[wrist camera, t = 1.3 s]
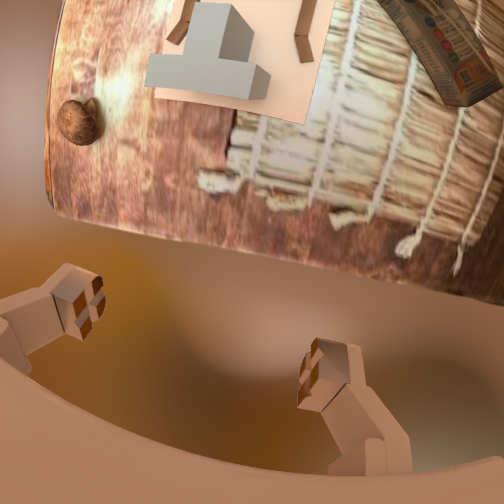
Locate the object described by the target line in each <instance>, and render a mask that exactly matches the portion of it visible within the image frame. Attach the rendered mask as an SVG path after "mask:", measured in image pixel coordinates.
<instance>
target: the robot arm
mask: <svg viewBox="0 0 504 504" xmlns="http://www.w3.org/2000/svg"><path fill="white" fill-rule="evenodd" d="M103 285H104V284H103V278H102V277H101V276H99V275H97V274H95V273H92V272H89V271H87V270H85V269H82V268H80V267H77V266H75V265H72V264H70V263H65V264H63V265H62V266H61V267H60V268H59V269H58V270H57V271H56V272H55V273H54V274H53V275H52V276H51V277H50V278H49V279H48V280H47V281H46V282H45V283H44V284H43V285H42V286H41V287H40V288H38V287H34V288H31V289H29V290H26V291H23V292H20V293H17V294H15V295H12V296H9V297H6V298H3V299H1V300H0V504H504V460H503V459H502V458H501V457H499V456H494V457H489V458H486V459H482V460H478V461H474V462H470V463H466V464H462V465H457V466H453V467H448V468H442V469H436V470H429V471H423V472H415V473H413V468H412V458H411V449H410V441H409V437H408V435H407V434H406V433H405V431H404V430H403V429H402V428H401V426H400V425H399V424H398V422H397V421H396V420H395V418H394V417H393V416H392V414H391V413H390V412H389V411H388V409H387V408H386V407H385V405H384V404H383V403H382V402H381V400H380V399H379V398H378V396H377V395H376V394H375V392H374V391H373V390H372V388H371V387H367V386H366V380H365V373H364V365H363V358H362V352H361V348H360V346H357V345H351V344H346V343H345V344H344V343H341V342H336V341H331V340H326V339H320V338H315V339H314V341H313V342H312V344H311V351H310V352H308V353H306V355H305V357H304V358H303V361H302V364H301V367H300V373H299V381H300V382H301V384H302V386H301V387H300V389H299V390H298V401H297V408H301V409H306V410H312V411H318V412H322V413H321V414H322V416H323V418H324V420H325V422H326V424H327V426H328V428H329V430H330V432H331V433H332V436H333V437H334V439H335V441H336V443H337V445H338V447H339V449H340V451H341V453H342V454H343V456H342V457H341V458H339V459H338V460H336V461H335V462H333V463H332V464H330V465H329V466H328V476H323V475H308V474H297V473H288V472H280V471H272V470H265V469H259V468H253V467H248V466H243V465H237V464H233V463H228V462H224V461H219V460H215V459H211V458H207V457H203V456H200V455H196V454H192V453H189V452H186V451H182V450H179V449H176V448H173V447H169V446H167V445H164V444H161V443H158V442H155V441H153V440H150V439H147V438H144V437H142V436H139V435H137V434H134V433H132V432H129V431H127V430H125V429H122V428H120V427H118V426H115V425H113V424H111V423H109V422H107V421H104V420H102V419H100V418H98V417H96V416H94V415H92V414H90V413H88V412H86V411H84V410H82V409H80V408H78V407H77V406H74V405H73V404H71V403H69V402H67V401H66V400H64V399H62V398H60V397H59V396H57V395H55V394H54V393H52V392H50V391H49V390H47V389H46V388H44V387H42V386H41V385H39V384H38V383H36V382H35V381H33V380H32V379H30V378H29V377H27V375H28V374H29V372H30V371H31V365H30V363H29V361H28V359H27V358H26V356H27V355H28V354H30V353H32V352H34V351H35V350H37V349H39V348H40V347H42V346H44V345H46V344H47V343H49V342H51V341H53V340H55V339H57V338H58V337H60V336H62V335H64V333H66V334H68V335H71V336H73V337H75V338H77V339H79V340H82V341H84V339H85V338H86V337H87V335H88V334H89V332H90V331H91V330H92V322H94V321H96V320H98V319H99V318H100V317H101V316H102V314H103V311H104V309H105V304H106V298H105V294H104V293H103V291H102V290H101V287H102V286H103Z"/></svg>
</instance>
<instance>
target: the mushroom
mask: <svg viewBox="0 0 504 504" xmlns="http://www.w3.org/2000/svg"><path fill="white" fill-rule="evenodd" d="M96 116H97V111H96V106H95V103H94V101H93V99H92V98H90V99H89V100H88V102H87V103H86V104H85V105H83V104H82V103H81V102H78V101H75V100H70V101H67V102H65V103H64V104H63V105H62V106H61V108H60V110H59V112H58V116H57V122H58V128H59V130H60V132H61V133H62V134H63V135H64V137H65V138H67V139H68V140H69V141H70V142H71V143H74V144H76V145H80V146H84V145H90V144H92V143H93V142H94V141H95V140H96V139H97V138H98V136H99V133H100V132H99V127H98V125H97V123H96V121H95V118H96Z"/></svg>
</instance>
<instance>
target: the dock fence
mask: <svg viewBox="0 0 504 504" xmlns="http://www.w3.org/2000/svg"><path fill="white" fill-rule="evenodd" d="M200 1H201V0H185V2H184V6H183V10H182V14H181V17H180V20H179V22H178V23H177V24H176V26H175V27H174V29H173V30H172V31H171V33H170V34H169V35H168V37H167V38H166V40H168V41H170V42H171V43H173V44H175V45H178V46H179V44H180V43H181V42H182V40H183V39H184V37H185V36H186V35H187V32H188V28H189V24H190V20H191V16H192V12H193V8H194V5H195V2H200ZM316 2H317V0H303V1H302V5H301V9H300V13H299V17H298V21H297V25H296V29H295V33H294V36H295V37H294V39H295V43H296V47H297V51H298V55H299V59H300V63H306V62H314V58H313V54H312V50H311V46H310V42H309V39H308V34H309V30H310V26H311V22H312V18H313V14H314V10H315V6H316Z"/></svg>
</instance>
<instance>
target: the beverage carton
mask: <svg viewBox="0 0 504 504" xmlns="http://www.w3.org/2000/svg"><path fill="white" fill-rule="evenodd" d="M377 1H378V2H379V3H380V4H381V6H382V7H383V8H384V9H385V11H386V12H387V13H388V15H389V16H390V17H391V18H392V20H393V21H394V22H395V24H396V25H397V26H398V28H399V29H400V30H401V32H402V33H403V35H404V36H405V37H406V39H407V40H408V42H409V43H410V45H411V46H412V48H413V49H414V51H415V52H416V54H417V56H418V57H419V59H420V60H421V62H422V64H423V65H424V67H425V68H426V70H427V72H428V74H429V75H430V77H431V79H432V80H433V82H434V84H435V86H436V88H437V89H438V91H439V93H440V95H441V97H442V98H443V100H444V103H445V105H452V106H459V107H470V106H472V105H474V104H476V103H478V102H479V101H481V100H483V99H485V98H486V97H488V96H490V95H491V94H493V93H495V92H497V91H499V90H500V89H502V88H503V86H502V84H501V82H500V80H499V77H498V75H497V73H496V71H495V69H494V66H493V64H492V63H491V61H490V59H489V57H488V55H487V53H486V51H485V49H484V47H483V45H482V44H481V42H480V40H479V39H478V37H477V35H476V34H475V32H474V30H473V29H472V27H471V25H470V24H469V22H468V21H467V19H466V18H465V16H464V15H463V13H462V11H461V10H460V9H459V7H458V6H457V4H456V3H455V2H454V0H377Z"/></svg>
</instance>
